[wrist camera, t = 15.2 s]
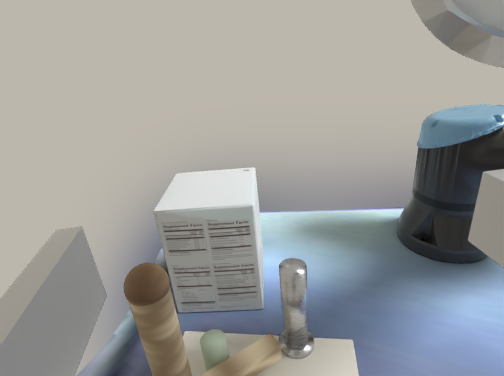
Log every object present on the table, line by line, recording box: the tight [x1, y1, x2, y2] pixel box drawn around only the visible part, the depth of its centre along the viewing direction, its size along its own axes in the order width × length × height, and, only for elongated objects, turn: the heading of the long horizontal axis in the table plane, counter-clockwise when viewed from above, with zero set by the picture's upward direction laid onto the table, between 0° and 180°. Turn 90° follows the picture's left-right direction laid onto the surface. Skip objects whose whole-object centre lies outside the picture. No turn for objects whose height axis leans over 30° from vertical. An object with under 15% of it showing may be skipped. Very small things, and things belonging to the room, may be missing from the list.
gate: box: [124, 263, 282, 376], centre depth 32 cm, size 14×4×19 cm, turn 123°
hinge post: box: [278, 258, 314, 359], centre depth 38 cm, size 4×4×12 cm
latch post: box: [200, 329, 229, 371], centre depth 39 cm, size 3×3×4 cm
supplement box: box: [154, 168, 264, 313], centre depth 50 cm, size 13×13×18 cm
